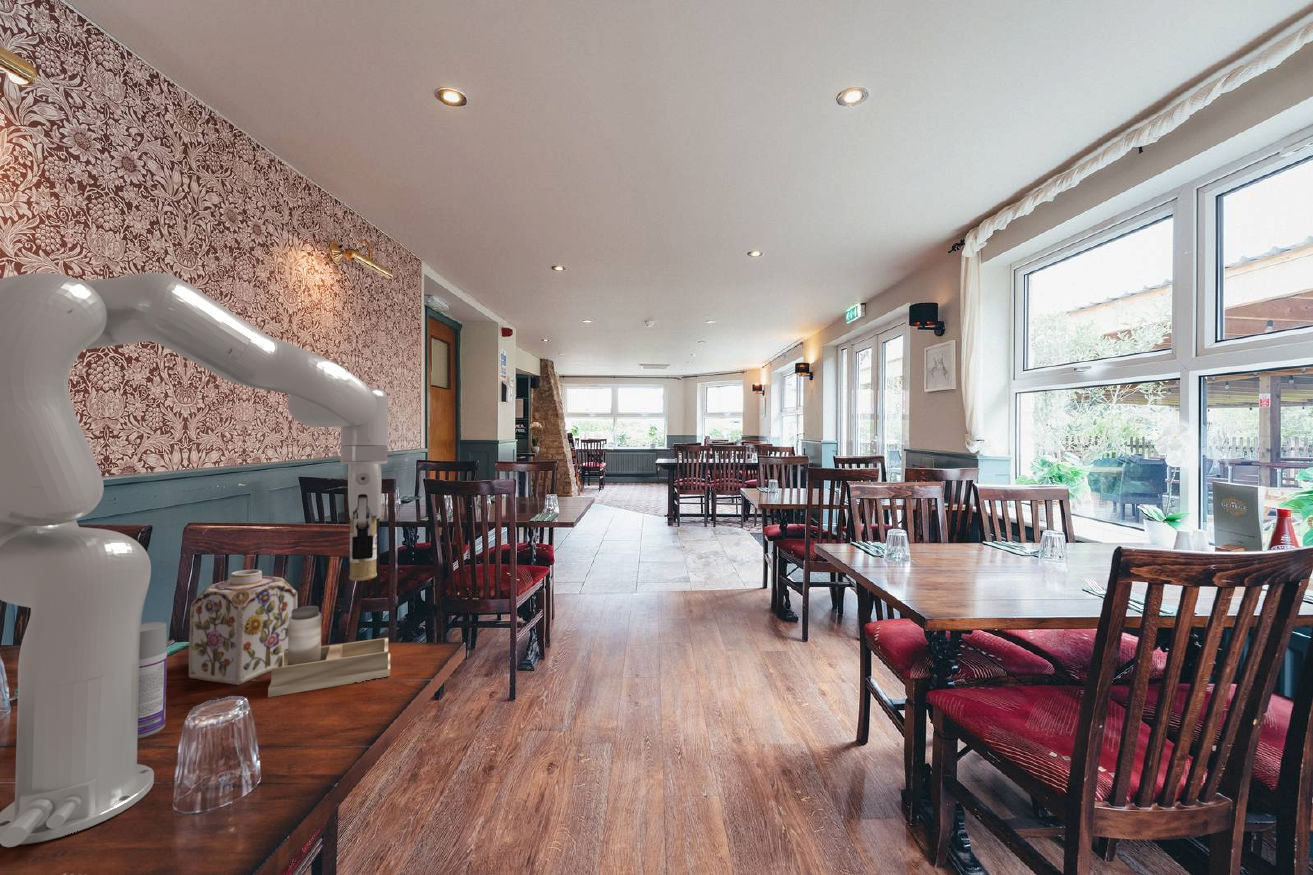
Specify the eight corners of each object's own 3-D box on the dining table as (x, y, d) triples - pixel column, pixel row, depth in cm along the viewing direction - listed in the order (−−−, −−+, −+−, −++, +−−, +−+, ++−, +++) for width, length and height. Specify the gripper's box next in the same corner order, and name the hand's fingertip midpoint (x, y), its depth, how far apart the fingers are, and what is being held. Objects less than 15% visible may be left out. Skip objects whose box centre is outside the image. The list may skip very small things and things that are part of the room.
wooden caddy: (390, 677, 96) (391, 606, 96) (268, 697, 88) (269, 619, 88) (390, 660, 104) (391, 594, 104) (277, 677, 96) (278, 606, 96)
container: (131, 726, 79) (134, 623, 79) (171, 720, 81) (174, 620, 81) (112, 742, 75) (115, 634, 75) (155, 736, 76) (157, 630, 76)
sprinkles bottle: (378, 579, 97) (379, 505, 97) (349, 582, 95) (350, 506, 95) (375, 574, 101) (376, 502, 101) (347, 577, 99) (348, 504, 99)
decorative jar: (185, 679, 95) (188, 576, 95) (250, 654, 106) (252, 563, 106) (239, 686, 92) (241, 581, 92) (299, 660, 103) (300, 566, 104)
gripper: (387, 456, 92) (385, 563, 92) (387, 454, 107) (386, 546, 107) (336, 457, 89) (335, 567, 89) (344, 454, 104) (342, 549, 104)
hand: (363, 554), depth 98 cm, fingers closed on sprinkles bottle, 4 cm apart
